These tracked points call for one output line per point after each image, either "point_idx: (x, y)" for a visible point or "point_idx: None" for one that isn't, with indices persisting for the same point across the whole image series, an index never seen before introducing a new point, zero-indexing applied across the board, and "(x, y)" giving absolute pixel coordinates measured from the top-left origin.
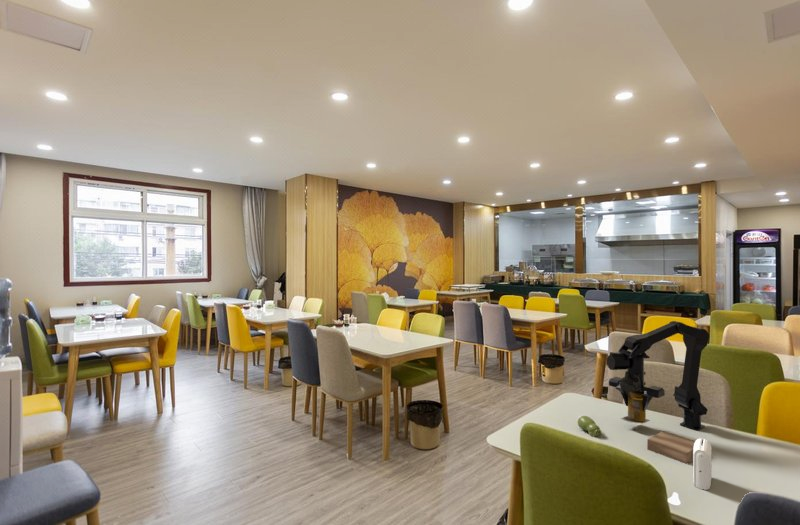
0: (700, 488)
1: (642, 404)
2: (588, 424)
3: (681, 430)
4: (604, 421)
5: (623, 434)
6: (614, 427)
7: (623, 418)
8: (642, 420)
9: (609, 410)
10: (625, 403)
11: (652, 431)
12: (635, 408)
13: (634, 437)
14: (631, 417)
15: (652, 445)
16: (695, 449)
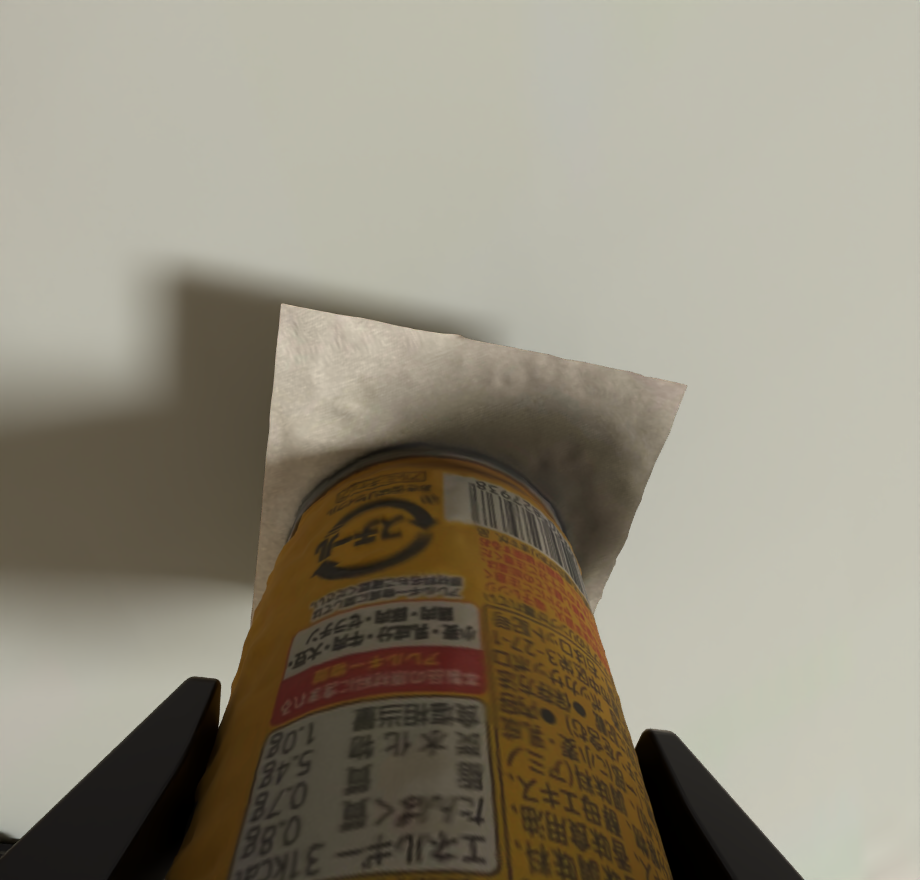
0: None
1: (174, 865)
2: None
3: (3, 745)
4: (891, 391)
5: (522, 3)
6: (719, 246)
7: (632, 440)
8: (297, 528)
9: (837, 775)
10: (711, 781)
11: (215, 499)
12: (389, 646)
13: (318, 5)
14: (489, 488)
15: None
16: None
